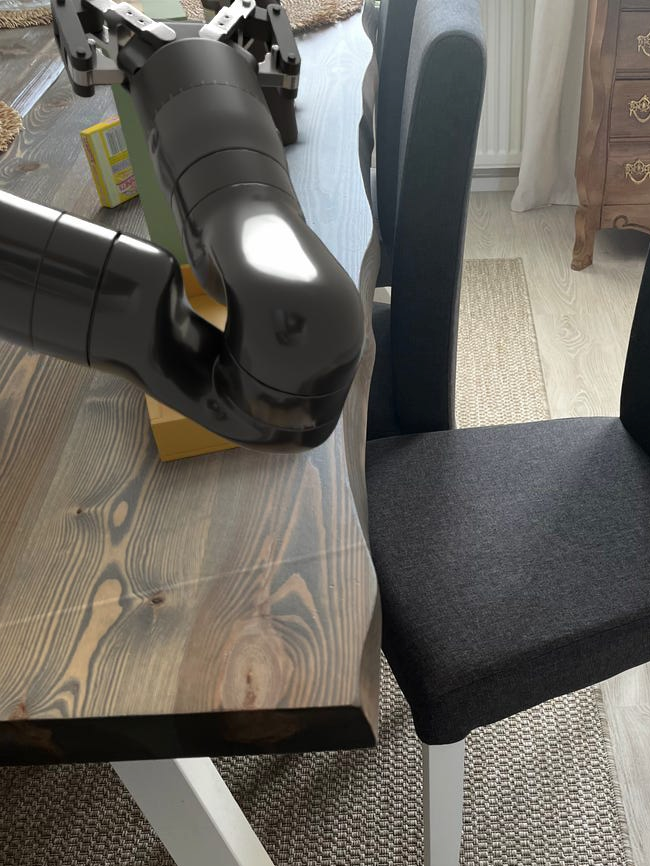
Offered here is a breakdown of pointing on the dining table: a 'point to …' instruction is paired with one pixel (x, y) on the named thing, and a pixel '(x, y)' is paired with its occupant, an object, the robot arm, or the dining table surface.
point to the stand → (160, 221)
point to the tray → (169, 426)
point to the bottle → (276, 93)
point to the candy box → (109, 162)
